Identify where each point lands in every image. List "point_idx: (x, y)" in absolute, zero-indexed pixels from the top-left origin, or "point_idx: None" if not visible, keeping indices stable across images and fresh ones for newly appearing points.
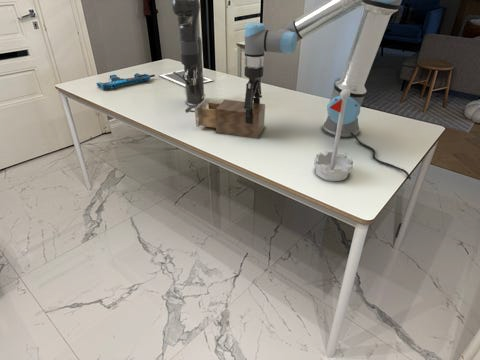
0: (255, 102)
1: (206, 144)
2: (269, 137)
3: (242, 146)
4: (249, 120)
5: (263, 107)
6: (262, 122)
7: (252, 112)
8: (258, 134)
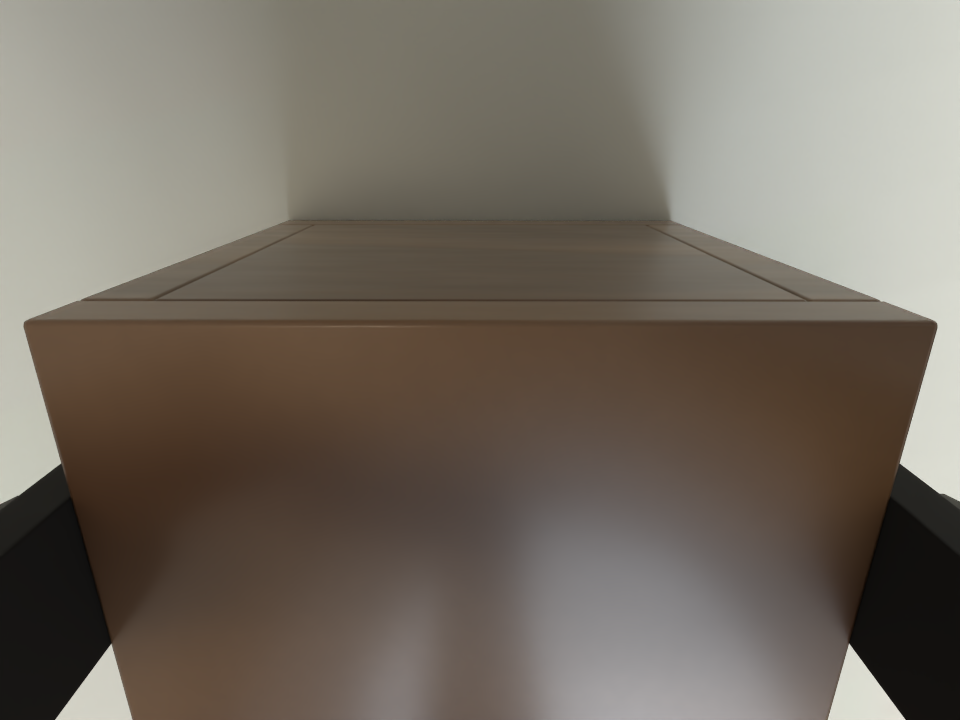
0: (86, 606)
1: None
2: (609, 51)
3: None
4: None
5: (281, 312)
6: (397, 239)
7: (925, 513)
8: (650, 225)
